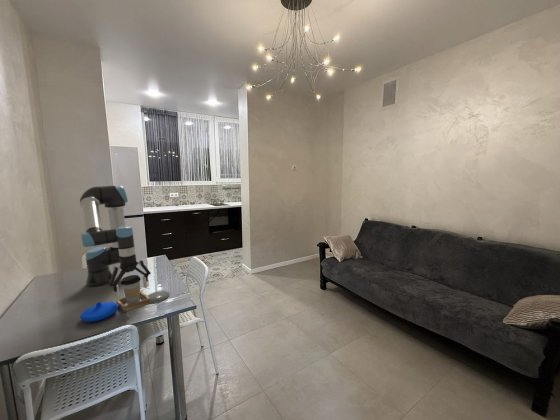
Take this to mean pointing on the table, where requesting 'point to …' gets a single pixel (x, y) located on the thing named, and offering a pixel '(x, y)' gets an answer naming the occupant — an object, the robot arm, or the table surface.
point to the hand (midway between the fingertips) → (132, 292)
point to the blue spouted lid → (99, 311)
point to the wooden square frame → (135, 305)
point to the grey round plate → (158, 296)
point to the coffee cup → (131, 288)
